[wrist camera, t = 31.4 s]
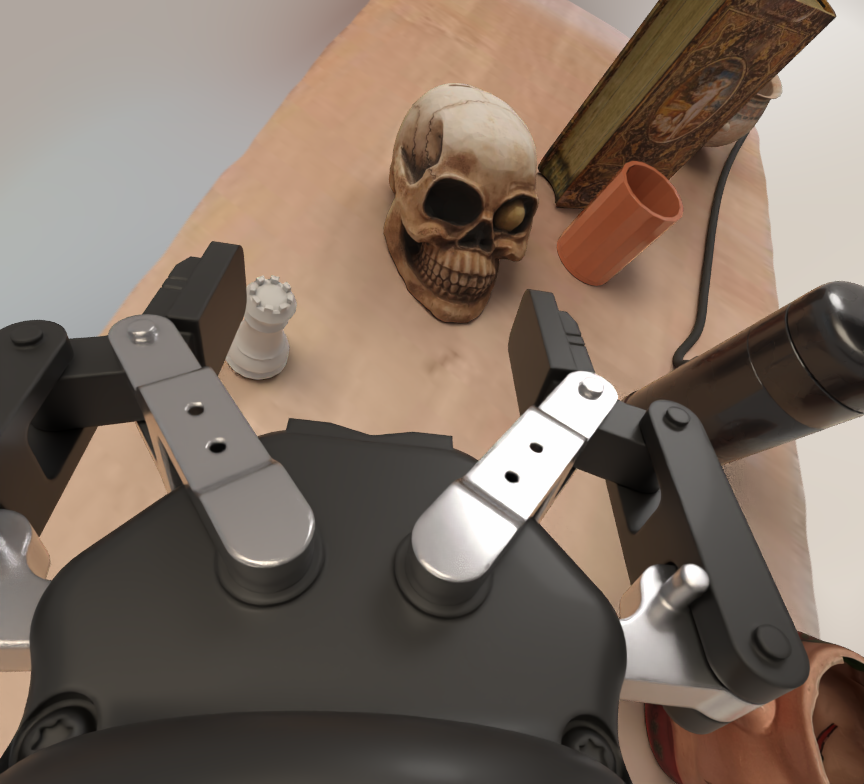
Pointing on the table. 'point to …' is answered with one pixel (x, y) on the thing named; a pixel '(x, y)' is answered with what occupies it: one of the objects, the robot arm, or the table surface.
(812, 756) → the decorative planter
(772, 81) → the cooking pot
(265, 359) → the rook chess piece
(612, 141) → the book
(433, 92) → the coin bank
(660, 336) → the table surface
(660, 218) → the pen pot
